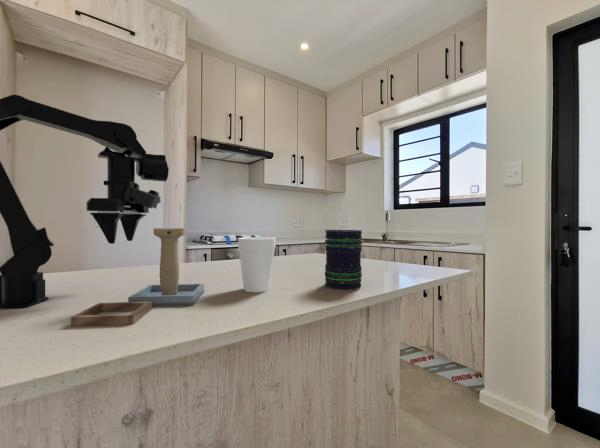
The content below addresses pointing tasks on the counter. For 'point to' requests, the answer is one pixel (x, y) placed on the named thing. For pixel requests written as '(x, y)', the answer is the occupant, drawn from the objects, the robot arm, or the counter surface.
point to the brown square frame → (92, 319)
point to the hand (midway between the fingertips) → (121, 242)
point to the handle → (169, 258)
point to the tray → (185, 295)
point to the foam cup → (256, 262)
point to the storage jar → (343, 259)
